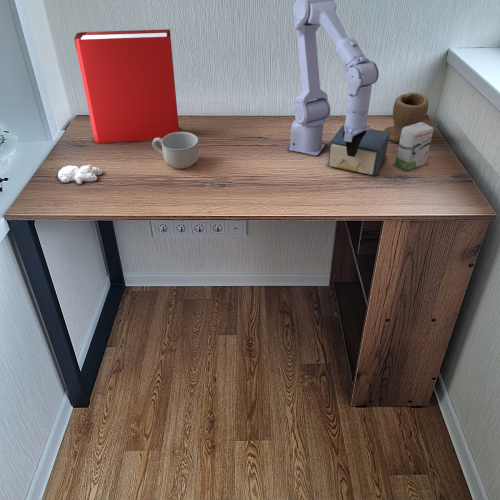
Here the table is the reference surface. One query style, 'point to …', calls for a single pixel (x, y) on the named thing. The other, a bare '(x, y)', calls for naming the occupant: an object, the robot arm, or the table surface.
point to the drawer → (352, 159)
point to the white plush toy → (79, 173)
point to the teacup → (178, 149)
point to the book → (128, 84)
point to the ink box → (414, 146)
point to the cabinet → (367, 144)
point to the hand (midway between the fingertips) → (351, 155)
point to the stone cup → (407, 113)
